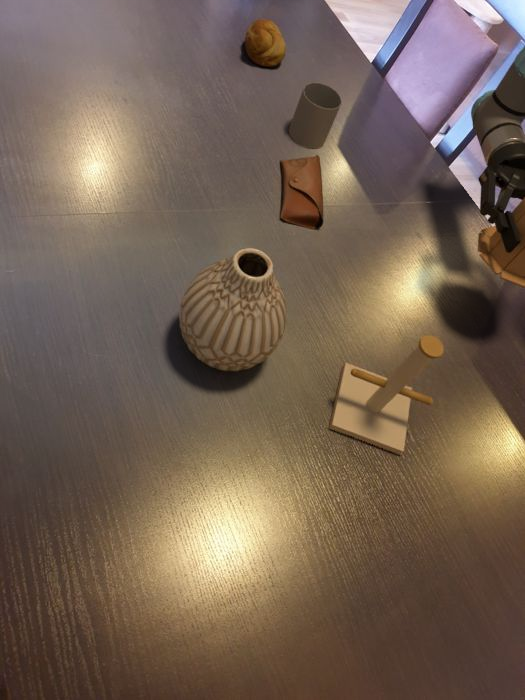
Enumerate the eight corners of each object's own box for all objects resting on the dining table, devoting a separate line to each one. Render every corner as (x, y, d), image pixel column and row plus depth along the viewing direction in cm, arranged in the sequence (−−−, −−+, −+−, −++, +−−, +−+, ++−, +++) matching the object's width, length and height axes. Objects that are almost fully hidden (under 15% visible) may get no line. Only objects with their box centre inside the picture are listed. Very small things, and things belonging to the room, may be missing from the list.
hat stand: (411, 393, 95) (479, 329, 79) (403, 456, 88) (476, 401, 72) (338, 365, 94) (391, 294, 78) (324, 426, 87) (379, 363, 71)
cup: (307, 119, 127) (322, 78, 119) (332, 142, 125) (349, 102, 117) (281, 129, 123) (295, 88, 115) (306, 153, 121) (322, 113, 113)
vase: (203, 401, 84) (232, 329, 68) (155, 319, 90) (171, 233, 73) (288, 364, 92) (333, 291, 75) (240, 290, 97) (271, 207, 81)
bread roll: (241, 34, 138) (248, 1, 131) (279, 43, 140) (288, 10, 134) (243, 66, 131) (251, 32, 125) (283, 74, 134) (293, 42, 127)
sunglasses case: (278, 157, 117) (302, 138, 113) (300, 176, 121) (325, 158, 117) (279, 220, 108) (306, 202, 104) (303, 239, 112) (330, 222, 108)
